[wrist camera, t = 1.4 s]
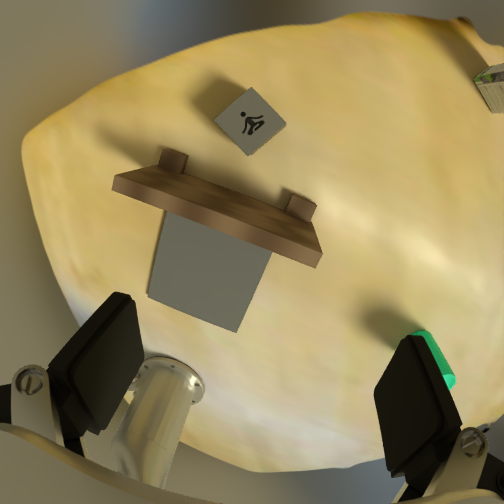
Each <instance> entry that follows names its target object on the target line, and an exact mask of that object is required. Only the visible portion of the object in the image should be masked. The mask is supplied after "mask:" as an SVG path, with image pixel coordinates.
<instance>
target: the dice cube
mask: <svg viewBox="0 0 504 504" xmlns="http://www.w3.org/2000/svg"><path fill="white" fill-rule="evenodd" d="M214 121H215V122H216V123H217V124H218V125H219V127H220V128H221V129H222V130H223V131H224V132H225V133H226V134H227V135H228V136H229V137H230V138H231V139H232V140H233V141H234V142H235V143H236V144H237V145H238V146H239V148H240V149H241V150H242V151H243V152H244V153H245V154H246V155H247V156H249V155H252V154H254V153H255V152H256V151H257V150H258V149H260V148H261V147H262V146H263V145H264V144H265V143H267V142H268V141H269V140H270V139H271V138H272V137H274V136H275V135H276V134H277V133H278V132H280V131H281V130H282V129H283V128H284V127H286V122H285V121H284V120H283V119H282V118H281V117H280V116H279V115H278V114H277V112H276V111H275V110H274V109H273V108H272V107H271V106H270V105H269V104H268V103H267V102H266V101H265V100H264V99H263V98H262V97H261V96H260V95H259V94H258V93H257V92H256V91H255V90H254V89H253V88H252V87H251V88H249V89H248V90H247V91H246V92H245V93H243V94H242V95H241V96H240V97H239V98H238V99H236V100H235V101H234V102H233V103H232V104H231V105H230V106H228V107H227V108H226V109H225V110H224V111H223V112H222V113H221V114H220V115H219V116H217V117H216V118H215V119H214Z"/></svg>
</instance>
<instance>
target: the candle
mask: <svg viewBox="0 0 504 504" xmlns="http://www.w3.org/2000/svg"><path fill="white" fill-rule="evenodd" d="M411 335H422V336H423V337H424V338H425V340H426V342H427V344H428V346H429V348H430V350H431V352H432V354H433V356H434V358H435V360H436V362H437V364H438V367H439V369H440V371H441V373H442V375H443V377H444V380H445V382H446V384H447V386H448V389H449V391H450V390H451V388H452V387H453V386H454V385H455V384H456V377H455V375H454V373H453V371H452V369H451V368H450V366H449V364H448V362H447V360H446V359H445V357H444V355H443V353H442V352H441V350H440V348H439V347H438V345H437V343H436V342H435V340H434V338H433V337H432V335H431V334H430V333H429V332H427V331H417V332H415V333H413V334H411Z"/></svg>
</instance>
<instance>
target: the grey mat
mask: <svg viewBox="0 0 504 504" xmlns="http://www.w3.org/2000/svg"><path fill="white" fill-rule="evenodd" d="M271 254H272V251H269V250H267V249H264V248H262V247H259V246H257V245H254V244H251V243H249V242H246V241H244V240H241V239H238V238H236V237H233V236H231V235H228V234H226V233H223V232H220V231H218V230H215V229H213V228H210V227H207V226H205V225H202V224H200V223H197V222H194V221H192V220H189V219H187V218H184V217H181V216H179V215H176V214H173V213H171V212H168V211H167V213H166V217H165V221H164V224H163V228H162V232H161V237H160V241H159V245H158V249H157V254H156V258H155V263H154V267H153V272H152V277H151V282H150V287H149V292H148V297H149V298H151V299H153V300H155V301H158V302H160V303H162V304H165V305H167V306H169V307H172V308H174V309H176V310H179V311H181V312H184V313H186V314H188V315H191V316H193V317H196V318H198V319H201V320H203V321H206V322H209V323H211V324H214V325H216V326H219V327H222V328H224V329H227V330H230V331H232V332H235V333H237V331H238V328H239V326H240V324H241V322H242V319H243V317H244V315H245V313H246V311H247V308H248V306H249V304H250V302H251V299H252V297H253V295H254V293H255V290H256V288H257V286H258V284H259V281H260V279H261V277H262V275H263V272H264V270H265V268H266V265H267V263H268V261H269V259H270V256H271Z"/></svg>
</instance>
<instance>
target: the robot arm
mask: <svg viewBox="0 0 504 504" xmlns="http://www.w3.org/2000/svg"><path fill="white" fill-rule="evenodd" d="M143 361H144V350H143V345H142V340H141V334H140V329H139V323H138V316H137V310H136V303H135V301H134V300H132V298H131V296H130V295H129V294H124V293H120V292H114V293H112V294H111V295H110V296H109V297H108V299H107V300H106V301H105V302H104V303H103V304H102V305H101V306H100V307H99V308H98V309H97V310H96V311H95V312H94V313H93V314H92V316H91V317H90V318H89V319H88V320H87V321H86V322H85V323H84V324H83V325H82V327H81V328H80V329H79V330H78V331H77V332H76V333H75V334H74V336H73V337H72V338H71V339H70V340H69V341H68V342H67V343H66V345H65V346H64V347H63V348H62V349H61V350H60V352H59V353H58V354H57V355H56V356H55V357H54V359H53V360H52V361H51V362H50V363H49V365H48V366H49V368H48V369H47V370H45V369H44V368H42V367H41V366H38V365H27V366H24V367H22V368H20V369H19V370H18V371H17V372H16V373H15V375H14V377H13V379H12V383H11V384H7V385H2V386H0V504H222V503H216V502H211V501H206V500H202V499H198V498H193V497H189V496H185V495H181V494H178V493H174V492H170V491H167V490H164V486H165V482H166V478H167V475H168V472H169V469H170V466H171V463H172V460H173V456H174V453H175V450H176V447H177V445H178V442H179V439H180V436H181V433H182V430H183V427H184V424H185V421H186V418H187V415H188V412H189V409H190V406H191V405H194V404H196V403H198V402H199V401H201V399H202V398H203V395H204V391H205V388H204V384H203V382H202V380H201V378H200V377H199V376H198V375H197V374H196V373H195V372H194V371H193V370H192V369H191V368H189V367H188V366H186V365H184V364H183V363H180V362H178V361H176V360H173V359H170V358H164V357H152V358H149V359H147V360H145V361H144V362H143ZM138 370H139V377H140V378H139V380H135V381H134V382H132V381H133V379H134V377H135V376H136V374H137V372H138ZM127 390H129V391H133V390H135V391H134V393H133V396H134V398H133V400H132V401H131V403H130V405H129V407H128V409H127V411H126V413H125V415H124V417H123V419H122V420H121V422H120V424H119V426H118V428H117V431H116V432H115V434H114V436H113V438H112V440H111V444H110V451H111V456H112V460H113V462H114V465H115V468H116V470H117V472H115V471H112V470H110V469H108V468H105V467H103V466H101V465H99V464H98V463H96V462H94V461H92V460H91V459H89V456H88V452H87V449H86V445H85V442H84V438H83V435H84V433H85V432H86V430H88V431H90V432H92V433H94V434H96V435H99V433H100V431H101V430H105V429H106V428H107V426H108V424H109V422H110V420H111V418H112V417H113V415H114V413H115V411H116V410H117V408H118V406H119V404H120V402H121V400H122V398H123V397H124V395H125V393H126V392H127ZM374 400H375V405H376V409H377V414H378V419H379V425H380V430H381V436H382V441H383V447H384V453H385V459H386V466H387V469H388V471H390V472H391V477H392V478H395V477H401V476H405V479H406V482H405V483H404V485H403V487H402V488H401V490H400V491H399V493H398V494H397V496H396V497H395V499H394V500H393V502H392V503H391V504H504V462H502V461H501V460H499V459H497V458H496V457H494V456H492V455H491V454H489V453H488V440H487V438H486V436H485V435H484V433H483V432H482V431H480V430H479V429H477V428H474V427H467V428H464V429H463V430H462V431H461V428H460V426H461V425H462V421H461V418H460V416H459V413H458V411H457V408H456V406H455V403H454V401H453V398H452V396H451V393H450V391H449V389H448V386H447V384H446V382H445V380H444V377H443V375H442V373H441V371H440V369H439V367H438V364H437V362H436V360H435V358H434V356H433V354H432V352H431V350H430V348H429V346H428V344H427V342H426V340H425V338H424V337H423V336H422V335H407V336H406V337H405V339H402V340H401V341H400V343H399V345H398V347H397V349H396V351H395V353H394V355H393V357H392V359H391V361H390V362H389V364H388V366H387V368H386V370H385V371H384V373H383V375H382V377H381V378H380V380H379V382H378V384H377V385H376V387H375V389H374Z"/></svg>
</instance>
